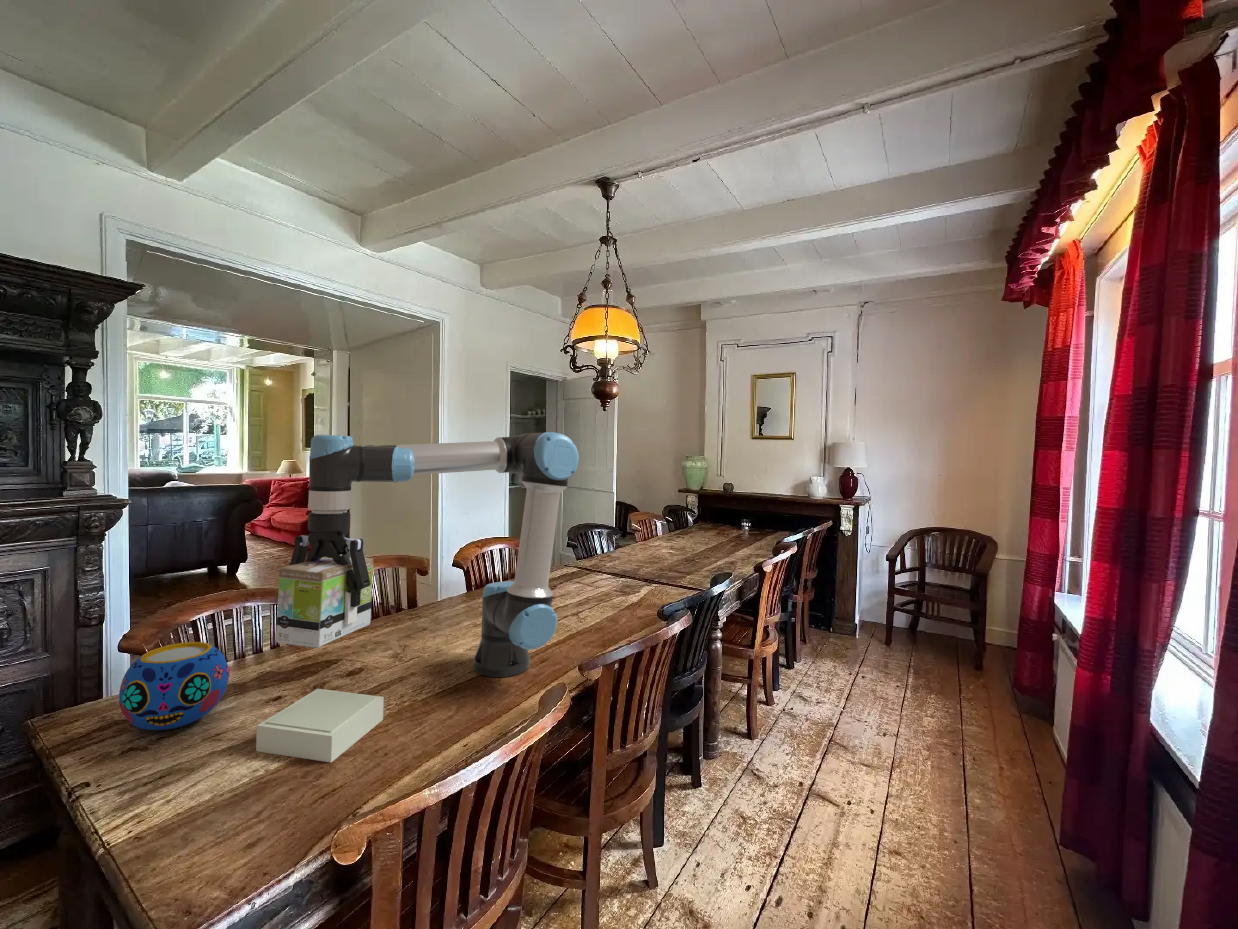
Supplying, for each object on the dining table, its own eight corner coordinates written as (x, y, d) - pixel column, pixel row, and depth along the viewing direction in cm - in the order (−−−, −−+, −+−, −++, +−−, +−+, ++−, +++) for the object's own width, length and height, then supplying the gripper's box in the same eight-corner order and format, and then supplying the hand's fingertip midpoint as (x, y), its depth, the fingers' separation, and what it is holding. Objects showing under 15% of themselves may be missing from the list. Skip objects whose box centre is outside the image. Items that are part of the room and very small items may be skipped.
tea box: (320, 650, 98) (322, 571, 97) (274, 644, 100) (276, 567, 99) (372, 624, 112) (374, 556, 112) (331, 619, 114) (333, 552, 114)
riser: (383, 719, 113) (383, 695, 113) (331, 762, 97) (331, 734, 97) (317, 711, 116) (317, 687, 116) (256, 751, 100) (256, 724, 100)
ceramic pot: (101, 755, 97) (102, 675, 96) (135, 711, 112) (137, 642, 112) (218, 735, 105) (220, 661, 104) (235, 696, 121) (236, 632, 120)
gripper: (391, 512, 107) (388, 619, 108) (294, 506, 111) (291, 609, 112) (368, 516, 100) (365, 631, 101) (265, 509, 104) (262, 620, 104)
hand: (326, 619), depth 106 cm, fingers closed on tea box, 10 cm apart
